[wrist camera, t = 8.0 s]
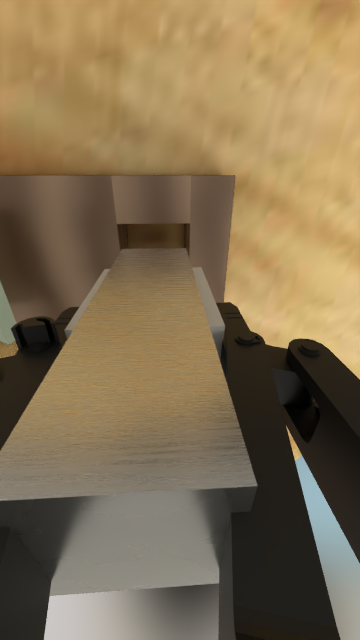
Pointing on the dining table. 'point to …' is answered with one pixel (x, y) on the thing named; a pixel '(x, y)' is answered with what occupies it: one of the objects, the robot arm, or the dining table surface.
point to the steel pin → (130, 441)
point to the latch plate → (6, 319)
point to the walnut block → (101, 231)
